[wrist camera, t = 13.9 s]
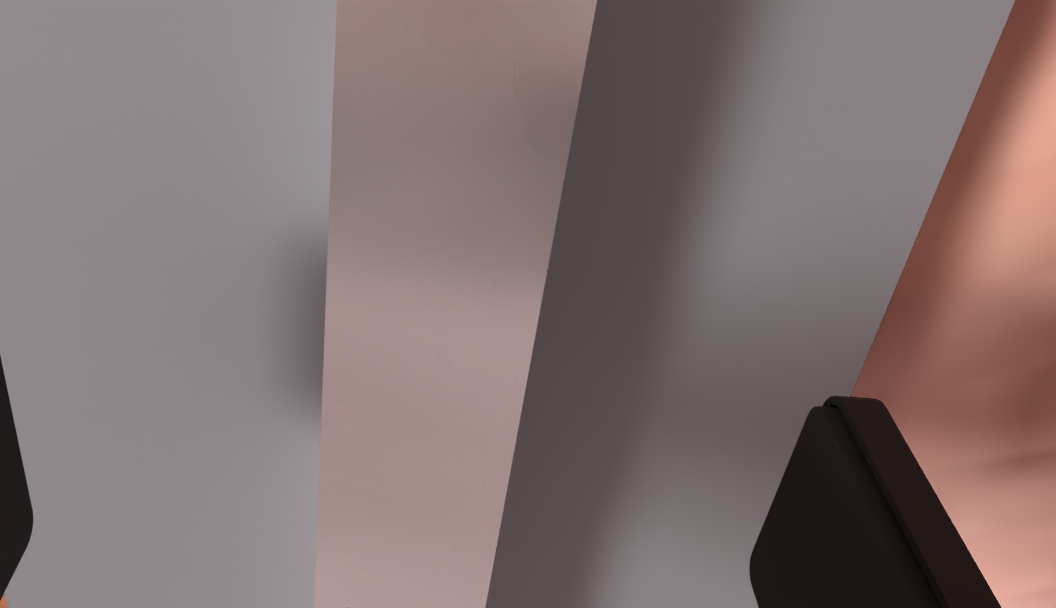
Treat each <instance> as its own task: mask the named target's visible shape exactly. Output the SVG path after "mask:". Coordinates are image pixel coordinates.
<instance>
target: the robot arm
mask: <svg viewBox="0 0 1056 608" xmlns="http://www.w3.org/2000/svg"><path fill="white" fill-rule="evenodd" d="M32 529H33V509H32V505H31V500H30V495H29V490H28V485H27V481H26V476H25V471H24V466H23V461H22V457H21V452H20V447H19V442H18V437H17V433H16V428H15V423H14V418H13V413H12V409H11V404H10V399H9V394H8V390H7V385H6V380H5V375H4V370H3V366H2V361H1V356H0V600H1V598H2V596H3V594H4V592H5V590H6V588H7V586H8V584H9V582H10V580H11V578H12V576H13V574H14V572H15V570H16V568H17V566H18V564H19V562H20V560H21V558H22V556H23V554H24V552H25V550H26V548H27V546H28V544H29V541H30V538H31V534H32ZM749 573H750V581H751V585H752V588H753V592H754V595H755V598H756V601H757V604H758V607H759V608H1001V606H1000V604H999V603H998V601H997V599H996V597H995V596H994V594H993V592H992V590H991V589H990V587H989V585H988V584H987V582H986V580H985V578H984V577H983V575H982V573H981V571H980V570H979V568H978V566H977V564H976V563H975V561H974V559H973V558H972V556H971V554H970V552H969V551H968V549H967V547H966V545H965V544H964V542H963V540H962V538H961V537H960V535H959V533H958V532H957V530H956V528H955V526H954V525H953V523H952V521H951V519H950V518H949V516H948V514H947V512H946V511H945V509H944V507H943V505H942V504H941V502H940V500H939V499H938V497H937V495H936V493H935V492H934V490H933V488H932V486H931V485H930V483H929V481H928V479H927V478H926V476H925V474H924V473H923V471H922V469H921V467H920V466H919V464H918V462H917V460H916V459H915V457H914V455H913V453H912V452H911V450H910V448H909V447H908V445H907V443H906V441H905V440H904V438H903V436H902V434H901V433H900V431H899V429H898V427H897V426H896V424H895V422H894V421H893V419H892V417H891V415H890V414H889V412H888V410H887V408H886V407H885V406H884V404H883V403H882V402H881V401H879V400H877V399H871V398H858V397H846V396H830V397H829V398H828V399H827V400H825V402H824V404H823V405H822V406H816V407H813V408H812V409H811V410H810V412H809V414H808V416H807V418H806V421H805V423H804V425H803V428H802V430H801V433H800V435H799V438H798V440H797V443H796V445H795V448H794V450H793V452H792V455H791V457H790V460H789V462H788V465H787V467H786V470H785V472H784V475H783V477H782V479H781V482H780V484H779V487H778V489H777V492H776V494H775V497H774V499H773V502H772V504H771V506H770V509H769V511H768V514H767V516H766V519H765V521H764V524H763V526H762V529H761V531H760V533H759V536H758V538H757V541H756V543H755V546H754V548H753V551H752V554H751V557H750V564H749Z"/></svg>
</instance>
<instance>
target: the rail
mask: <svg viewBox="0 0 1056 608" xmlns="http://www.w3.org/2000/svg"><path fill="white" fill-rule="evenodd" d="M596 3H597V0H337V14H336V40H335V67H334V93H333V120H332V147H331V173H330V200H329V226H328V253H327V280H326V306H325V333H324V359H323V386H322V413H321V439H320V466H319V492H318V519H317V546H316V572H315V599H314V608H485V607H486V601H487V596H488V590H489V585H490V579H491V574H492V569H493V563H494V558H495V552H496V547H497V541H498V536H499V531H500V525H501V520H502V514H503V509H504V503H505V498H506V493H507V487H508V482H509V476H510V471H511V465H512V460H513V454H514V449H515V444H516V438H517V433H518V427H519V422H520V416H521V411H522V406H523V400H524V395H525V389H526V384H527V378H528V373H529V367H530V362H531V357H532V351H533V346H534V340H535V335H536V329H537V324H538V319H539V313H540V308H541V302H542V297H543V291H544V286H545V280H546V275H547V270H548V264H549V259H550V253H551V248H552V242H553V237H554V232H555V226H556V221H557V215H558V210H559V204H560V199H561V194H562V188H563V183H564V177H565V172H566V166H567V161H568V155H569V150H570V145H571V139H572V134H573V128H574V123H575V117H576V112H577V107H578V101H579V96H580V90H581V85H582V79H583V74H584V68H585V63H586V58H587V52H588V47H589V41H590V36H591V30H592V25H593V20H594V14H595V9H596Z"/></svg>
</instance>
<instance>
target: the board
mask: <svg viewBox="0 0 1056 608" xmlns="http://www.w3.org/2000/svg"><path fill="white" fill-rule="evenodd" d="M1014 2H1015V0H597V3H596V9H595V14H594V20H593V25H592V30H591V36H590V41H589V47H588V52H587V58H586V63H585V68H584V74H583V79H582V85H581V90H580V96H579V101H578V107H577V112H576V117H575V123H574V128H573V134H572V139H571V145H570V150H569V155H568V161H567V166H566V172H565V177H564V183H563V188H562V194H561V199H560V204H559V210H558V215H557V221H556V226H555V232H554V237H553V242H552V248H551V253H550V259H549V264H548V270H547V275H546V280H545V286H544V291H543V297H542V302H541V308H540V313H539V319H538V324H537V329H536V335H535V340H534V346H533V351H532V357H531V362H530V367H529V373H528V378H527V384H526V389H525V395H524V400H523V406H522V411H521V416H520V422H519V427H518V433H517V438H516V444H515V449H514V454H513V460H512V465H511V471H510V476H509V482H508V487H507V493H506V498H505V503H504V509H503V514H502V520H501V525H500V531H499V536H498V541H497V547H496V552H495V558H494V563H493V569H492V574H491V579H490V585H489V590H488V596H487V601H486V607H485V608H759V607H758V604H757V601H756V598H755V595H754V592H753V588H752V585H751V581H750V573H749V564H750V557H751V554H752V551H753V548H754V546H755V543H756V541H757V538H758V536H759V533H760V531H761V529H762V526H763V524H764V521H765V519H766V516H767V514H768V511H769V509H770V506H771V504H772V502H773V499H774V497H775V494H776V492H777V489H778V487H779V484H780V482H781V479H782V477H783V475H784V472H785V470H786V467H787V465H788V462H789V460H790V457H791V455H792V452H793V450H794V448H795V445H796V443H797V440H798V438H799V435H800V433H801V430H802V428H803V425H804V423H805V421H806V418H807V416H808V414H809V412H810V410H811V409H812V408H813V407H816V406H822V405H823V404H824V402H825V400H827V399H828V398H829V397H830V396H846V397H850V396H851V394H852V391H853V389H854V386H855V384H856V382H857V379H858V377H859V374H860V372H861V370H862V367H863V365H864V362H865V360H866V358H867V355H868V353H869V350H870V348H871V346H872V343H873V341H874V338H875V336H876V334H877V331H878V329H879V326H880V324H881V321H882V319H883V317H884V314H885V312H886V309H887V307H888V305H889V302H890V300H891V297H892V295H893V293H894V290H895V288H896V285H897V283H898V281H899V278H900V276H901V273H902V271H903V269H904V266H905V264H906V261H907V259H908V257H909V254H910V252H911V249H912V247H913V245H914V242H915V240H916V237H917V235H918V233H919V230H920V228H921V225H922V223H923V221H924V218H925V216H926V213H927V211H928V209H929V206H930V204H931V201H932V199H933V197H934V194H935V192H936V189H937V187H938V185H939V182H940V180H941V177H942V175H943V173H944V170H945V168H946V165H947V163H948V161H949V158H950V156H951V153H952V151H953V149H954V146H955V144H956V141H957V139H958V137H959V134H960V132H961V129H962V127H963V125H964V122H965V120H966V117H967V115H968V113H969V110H970V108H971V105H972V103H973V101H974V98H975V96H976V93H977V91H978V89H979V86H980V84H981V81H982V79H983V76H984V74H985V72H986V69H987V67H988V64H989V62H990V60H991V57H992V55H993V52H994V50H995V48H996V45H997V43H998V40H999V38H1000V36H1001V33H1002V31H1003V28H1004V26H1005V24H1006V21H1007V19H1008V16H1009V14H1010V12H1011V9H1012V7H1013V4H1014ZM336 14H337V0H0V356H1V361H2V366H3V370H4V375H5V380H6V385H7V390H8V394H9V399H10V404H11V409H12V413H13V418H14V423H15V428H16V433H17V437H18V442H19V447H20V452H21V457H22V461H23V466H24V471H25V476H26V481H27V485H28V490H29V495H30V500H31V505H32V509H33V529H32V534H31V538H30V541H29V544H28V546H27V548H26V550H25V552H24V554H23V556H22V558H21V560H20V562H19V564H18V566H17V568H16V570H15V572H14V574H13V576H12V578H11V580H10V582H9V584H8V586H7V588H6V590H5V592H4V595H5V599H6V604H7V608H314V599H315V572H316V546H317V519H318V492H319V466H320V439H321V413H322V386H323V359H324V333H325V306H326V280H327V253H328V226H329V200H330V173H331V147H332V120H333V93H334V67H335V40H336Z"/></svg>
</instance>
